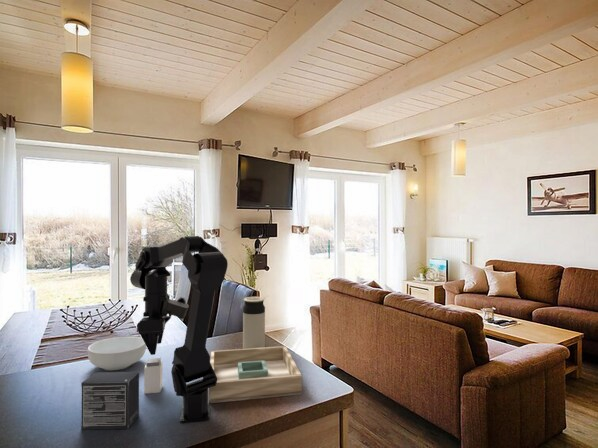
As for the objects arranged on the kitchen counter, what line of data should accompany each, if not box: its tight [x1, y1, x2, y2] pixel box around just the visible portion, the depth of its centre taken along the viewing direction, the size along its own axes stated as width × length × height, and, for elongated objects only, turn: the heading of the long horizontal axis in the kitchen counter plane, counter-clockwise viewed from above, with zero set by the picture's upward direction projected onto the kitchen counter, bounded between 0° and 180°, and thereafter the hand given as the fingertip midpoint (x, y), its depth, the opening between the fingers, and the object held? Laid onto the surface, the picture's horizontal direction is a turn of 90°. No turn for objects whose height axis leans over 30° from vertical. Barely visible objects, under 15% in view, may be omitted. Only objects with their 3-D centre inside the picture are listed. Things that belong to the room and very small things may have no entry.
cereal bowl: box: [87, 336, 147, 372], centre depth 116 cm, size 17×17×7 cm
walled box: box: [208, 345, 303, 404], centre depth 106 cm, size 24×24×5 cm
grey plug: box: [143, 357, 163, 394], centre depth 99 cm, size 4×4×8 cm
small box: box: [80, 371, 140, 431], centre depth 83 cm, size 11×6×10 cm, turn 92°
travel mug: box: [242, 296, 266, 349], centre depth 133 cm, size 8×8×18 cm
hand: (156, 348), depth 100 cm, fingers open, 9 cm apart
